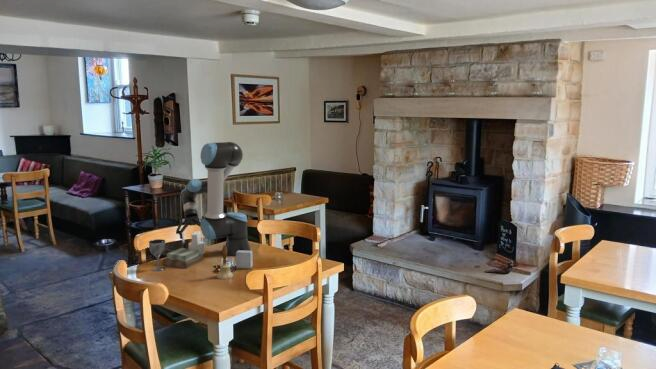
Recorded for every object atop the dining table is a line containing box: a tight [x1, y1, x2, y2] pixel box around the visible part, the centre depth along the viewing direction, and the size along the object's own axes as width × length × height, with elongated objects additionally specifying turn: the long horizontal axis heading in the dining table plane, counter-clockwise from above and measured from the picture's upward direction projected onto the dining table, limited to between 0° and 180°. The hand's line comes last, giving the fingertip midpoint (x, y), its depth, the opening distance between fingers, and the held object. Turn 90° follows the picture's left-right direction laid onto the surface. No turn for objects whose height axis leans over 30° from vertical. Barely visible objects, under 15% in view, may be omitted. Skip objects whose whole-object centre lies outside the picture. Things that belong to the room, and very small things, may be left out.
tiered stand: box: [162, 247, 204, 269], centre depth 274 cm, size 15×15×6 cm
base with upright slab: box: [187, 230, 206, 255], centre depth 292 cm, size 9×9×12 cm
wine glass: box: [148, 238, 166, 272], centre depth 262 cm, size 8×8×15 cm
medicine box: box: [235, 250, 254, 270], centre depth 266 cm, size 8×4×9 cm, turn 84°
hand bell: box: [216, 244, 234, 280], centre depth 252 cm, size 8×8×16 cm
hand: (195, 241), depth 292 cm, fingers open, 13 cm apart
